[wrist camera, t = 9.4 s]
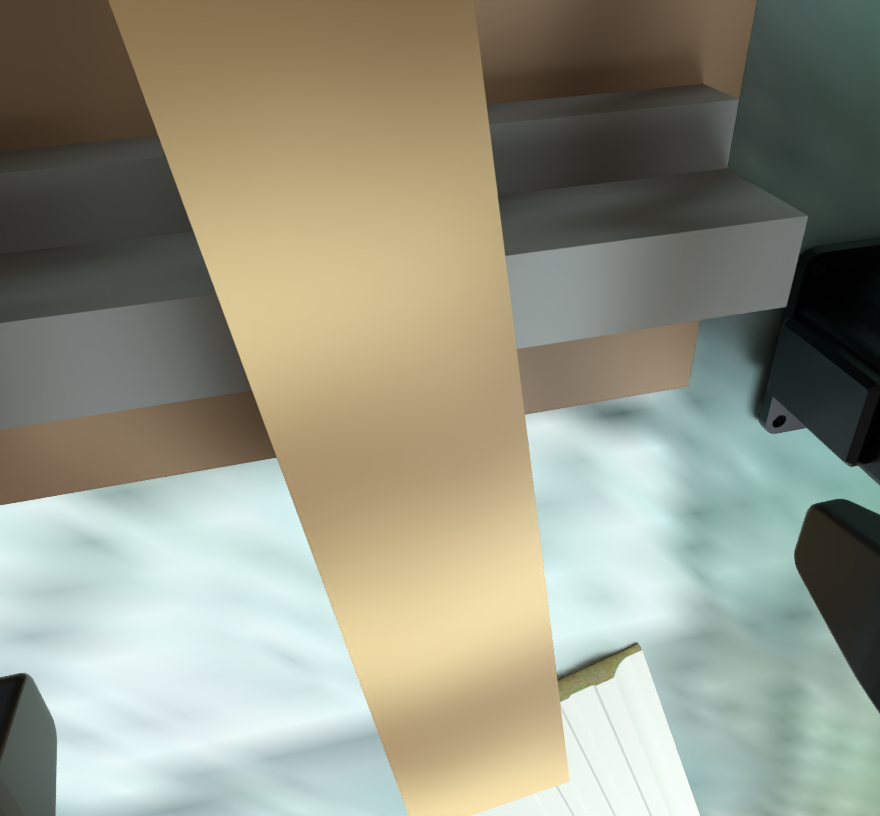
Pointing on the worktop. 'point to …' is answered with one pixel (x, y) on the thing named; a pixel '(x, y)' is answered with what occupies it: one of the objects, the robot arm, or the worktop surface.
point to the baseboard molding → (613, 748)
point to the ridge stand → (521, 211)
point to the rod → (377, 352)
